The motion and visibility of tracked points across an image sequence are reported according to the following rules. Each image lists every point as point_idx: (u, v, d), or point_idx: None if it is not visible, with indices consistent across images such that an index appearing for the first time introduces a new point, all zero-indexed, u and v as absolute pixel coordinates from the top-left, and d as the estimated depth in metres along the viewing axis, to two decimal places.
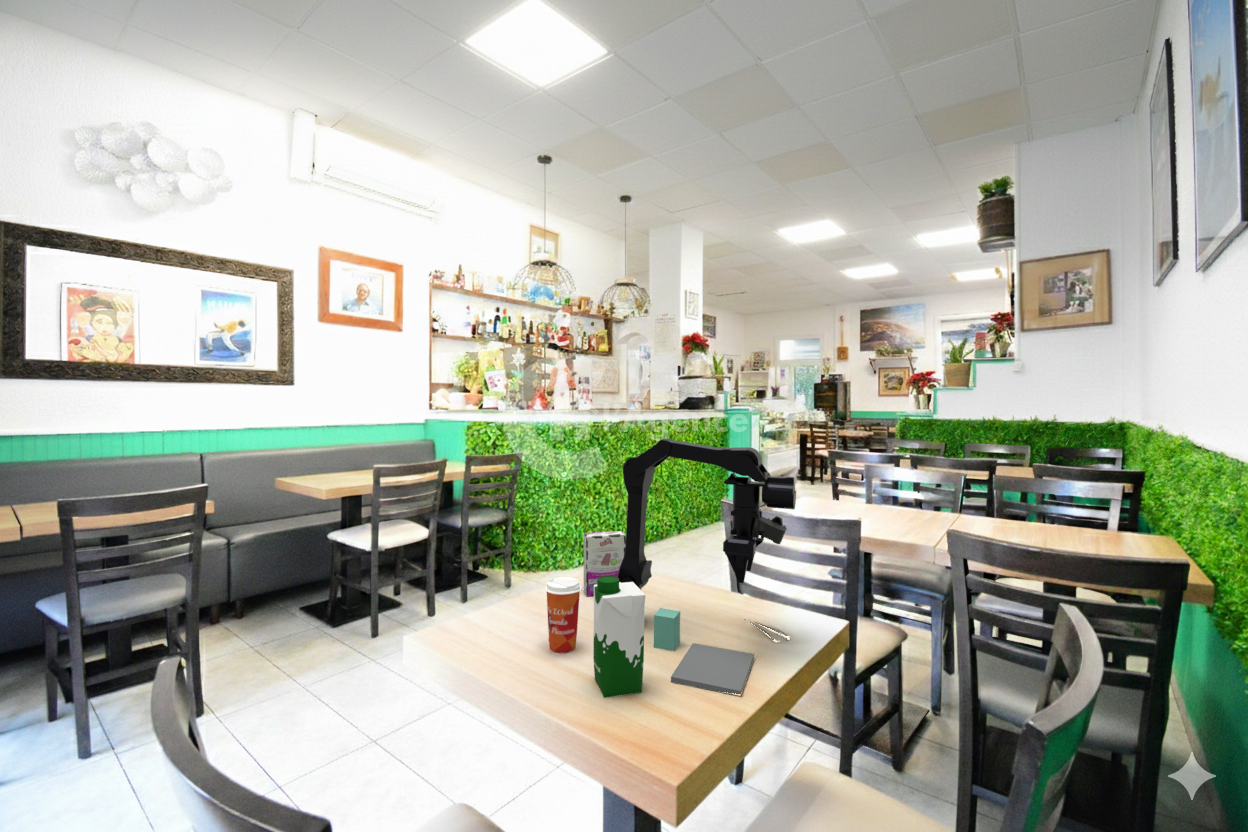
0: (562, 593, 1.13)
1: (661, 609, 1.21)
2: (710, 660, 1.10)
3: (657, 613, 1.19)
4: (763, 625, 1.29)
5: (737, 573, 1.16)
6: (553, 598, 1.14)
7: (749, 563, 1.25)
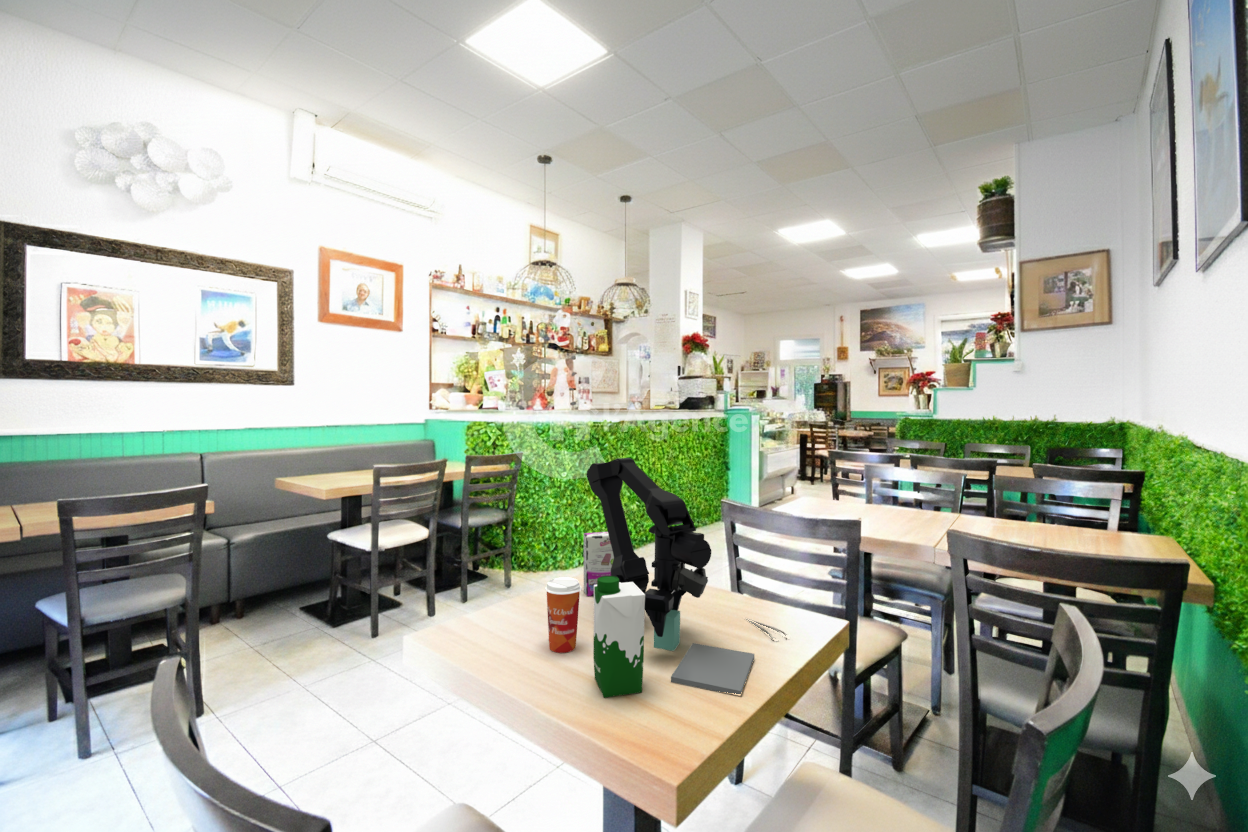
0: (562, 593, 1.13)
1: None
2: (710, 660, 1.10)
3: None
4: (762, 624, 1.30)
5: (656, 627, 1.14)
6: (553, 598, 1.14)
7: None
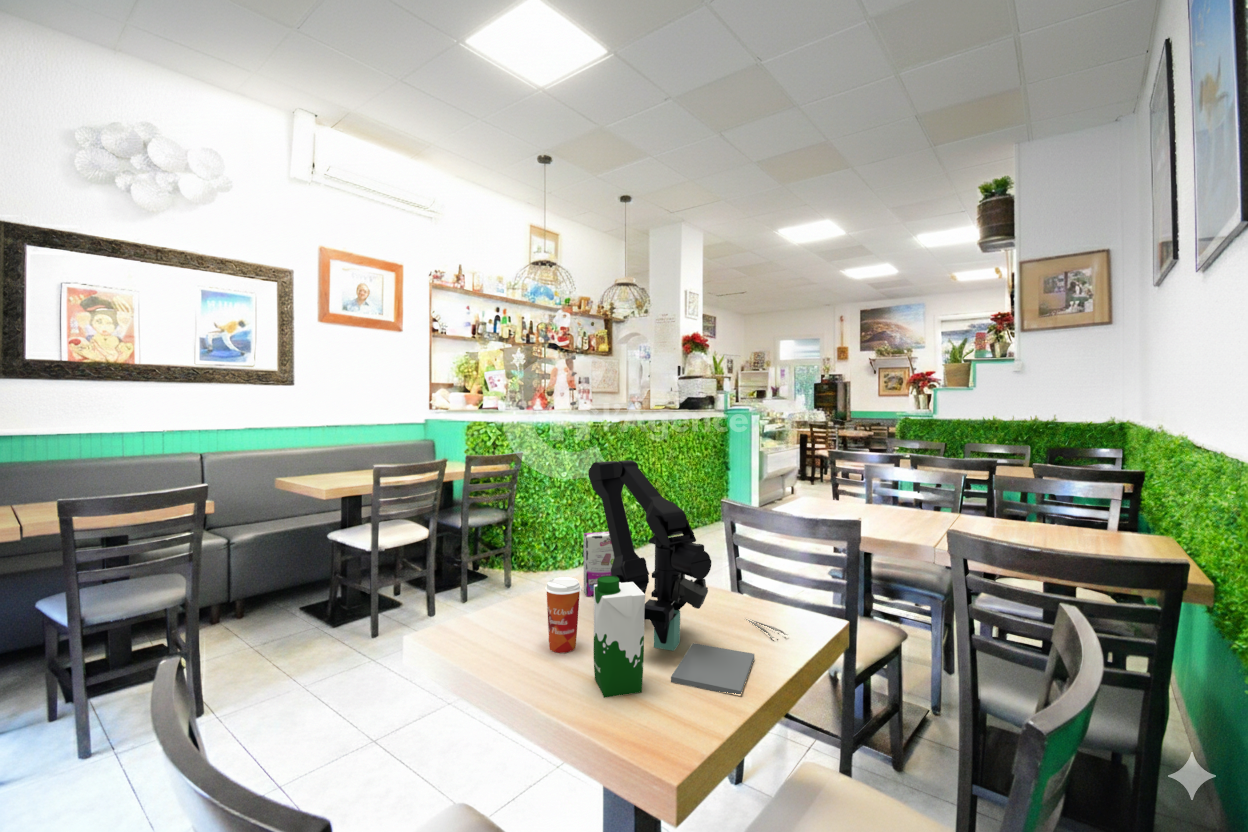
0: (562, 593, 1.13)
1: None
2: (710, 660, 1.10)
3: None
4: (762, 624, 1.30)
5: (659, 634, 1.16)
6: (553, 598, 1.14)
7: None
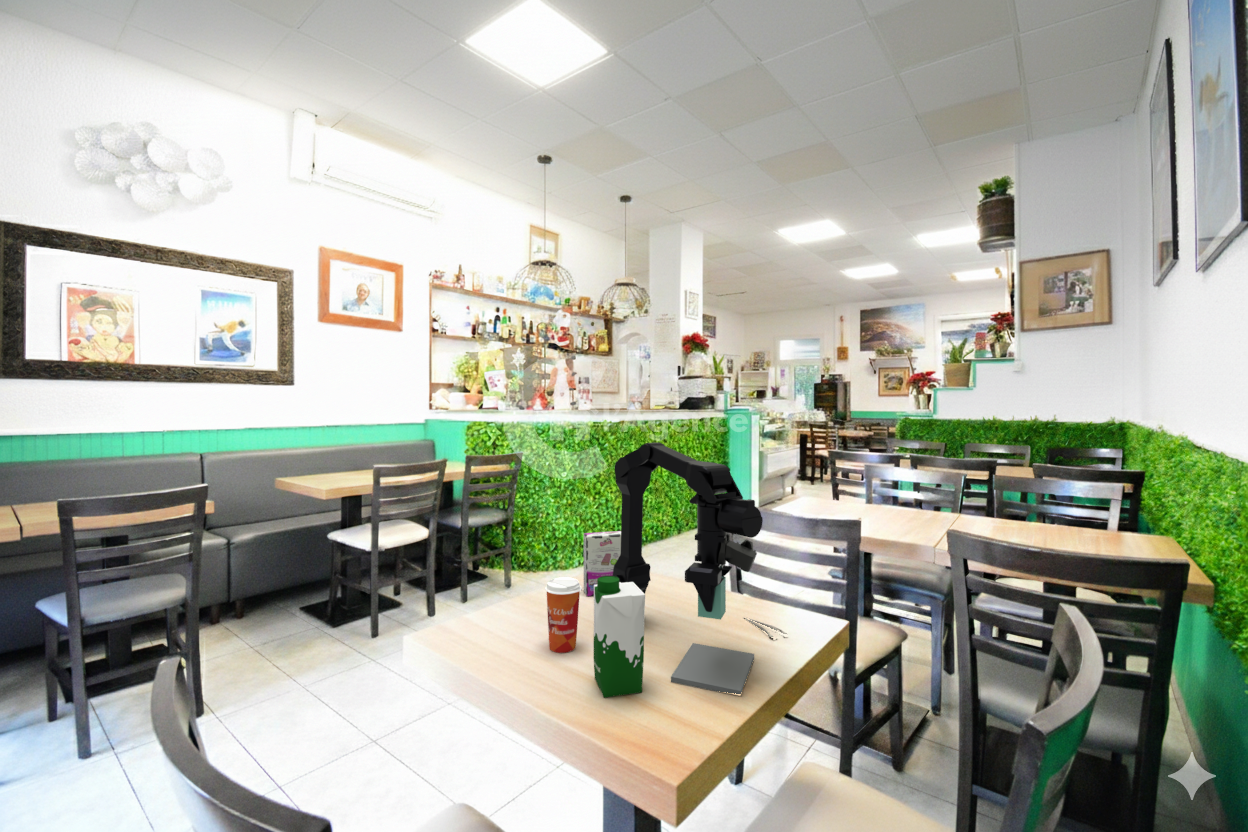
0: (562, 593, 1.13)
1: None
2: (710, 660, 1.10)
3: None
4: (761, 623, 1.31)
5: (704, 601, 1.06)
6: (553, 598, 1.14)
7: None
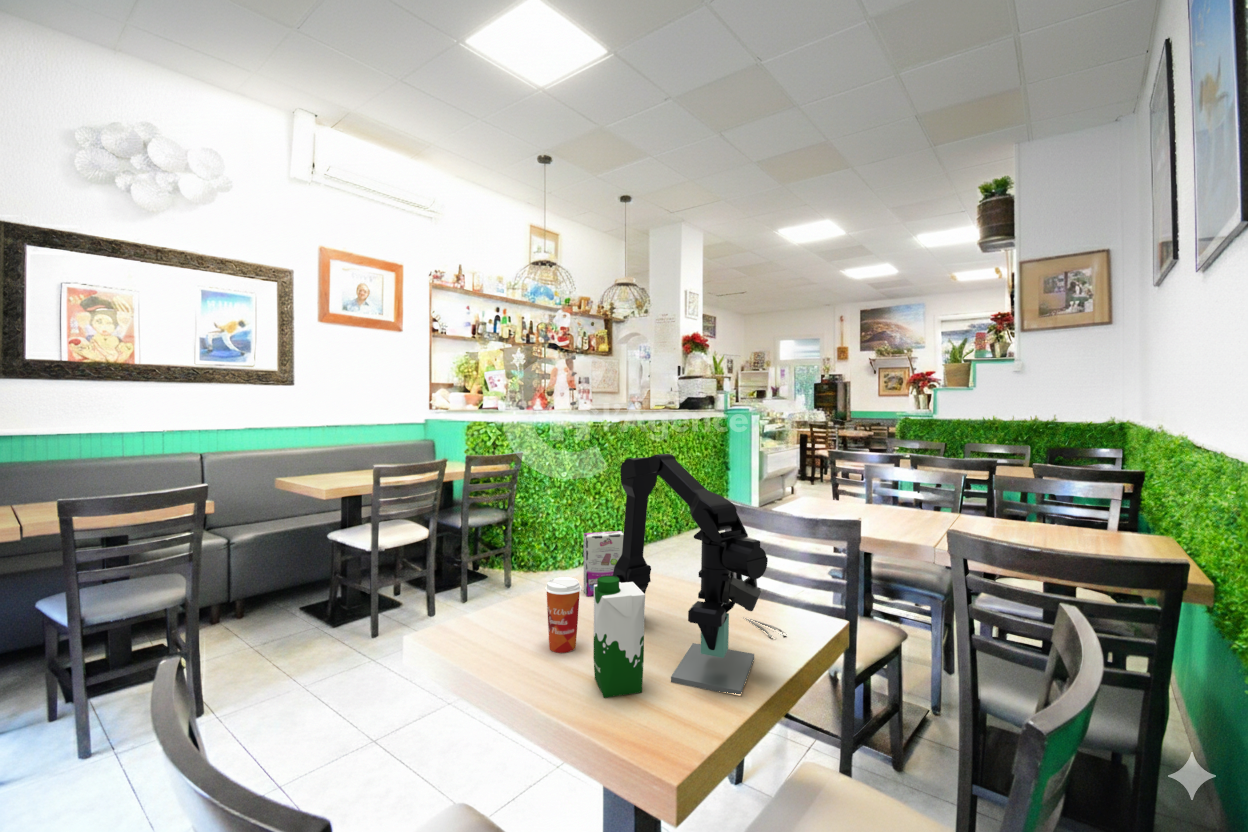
0: (562, 593, 1.13)
1: None
2: (710, 660, 1.10)
3: None
4: (760, 622, 1.31)
5: (707, 639, 1.05)
6: (553, 598, 1.14)
7: None
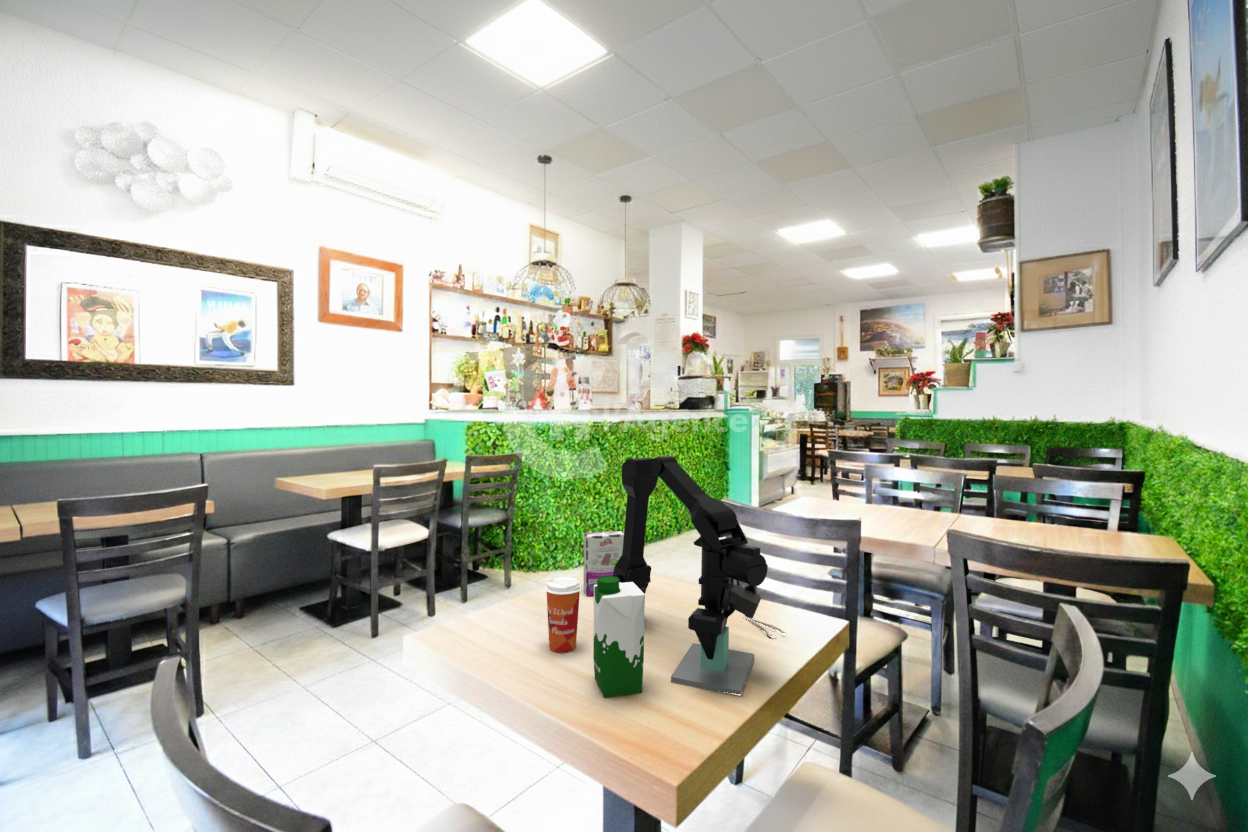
0: (562, 593, 1.13)
1: None
2: None
3: None
4: (759, 622, 1.31)
5: (706, 649, 1.04)
6: (553, 598, 1.14)
7: None
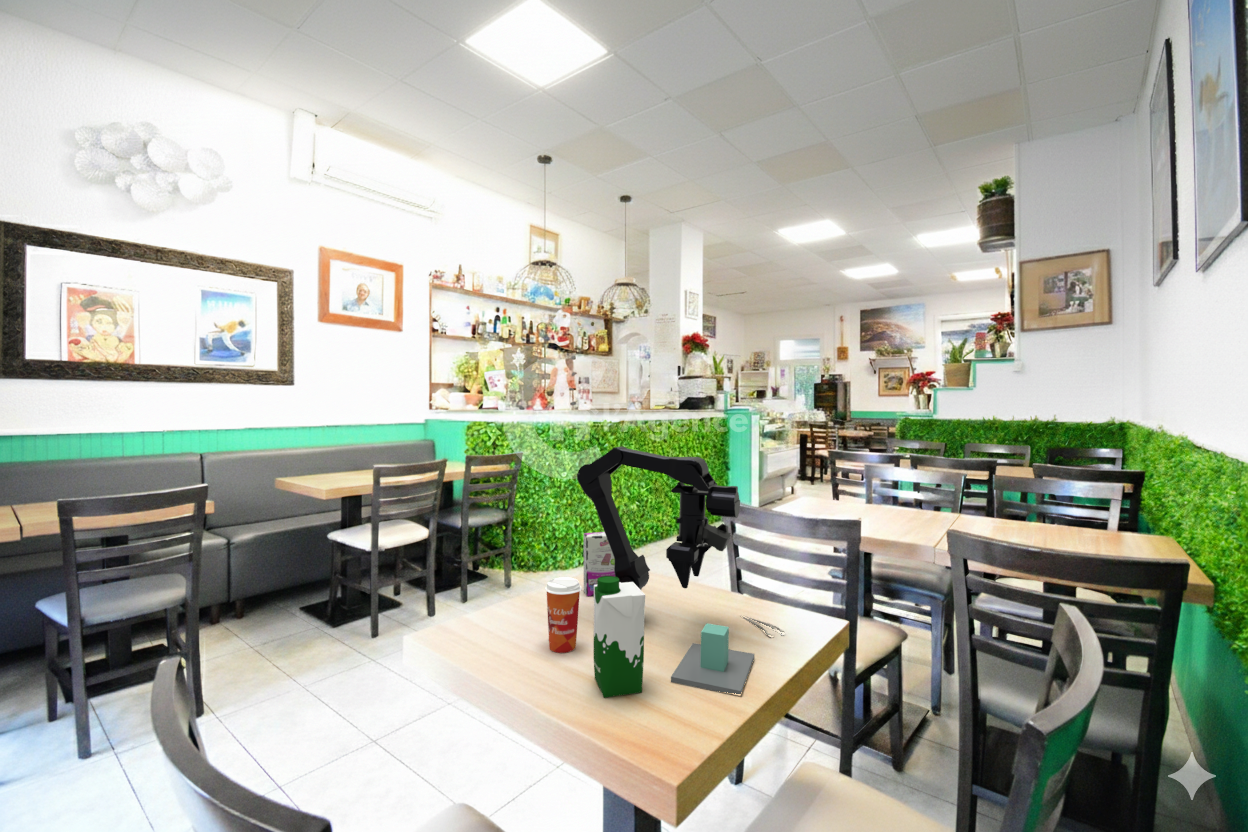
0: (562, 593, 1.13)
1: (707, 625, 1.10)
2: None
3: (704, 629, 1.08)
4: (758, 621, 1.32)
5: (681, 579, 1.20)
6: (553, 598, 1.14)
7: (697, 569, 1.29)
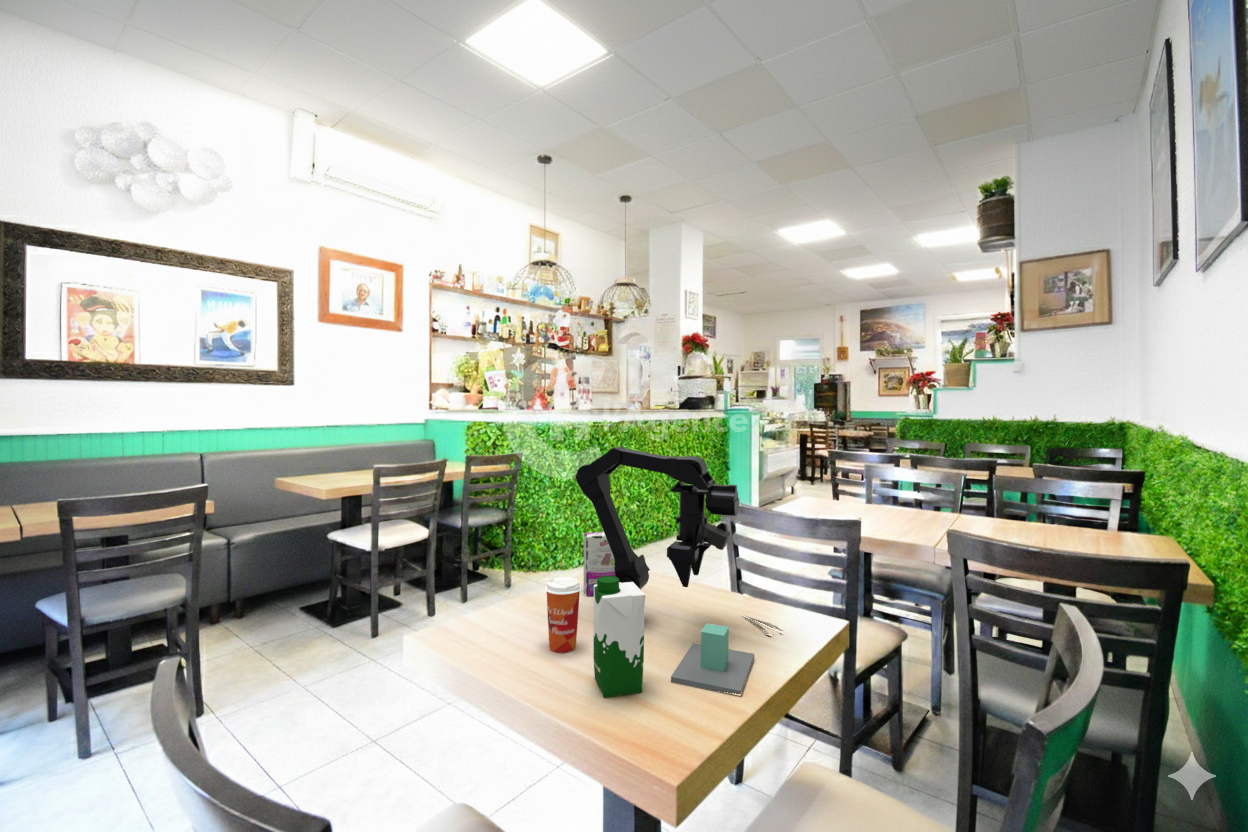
0: (562, 593, 1.13)
1: (707, 625, 1.10)
2: None
3: (704, 629, 1.08)
4: (757, 620, 1.32)
5: (681, 578, 1.20)
6: (553, 598, 1.14)
7: (697, 568, 1.29)
